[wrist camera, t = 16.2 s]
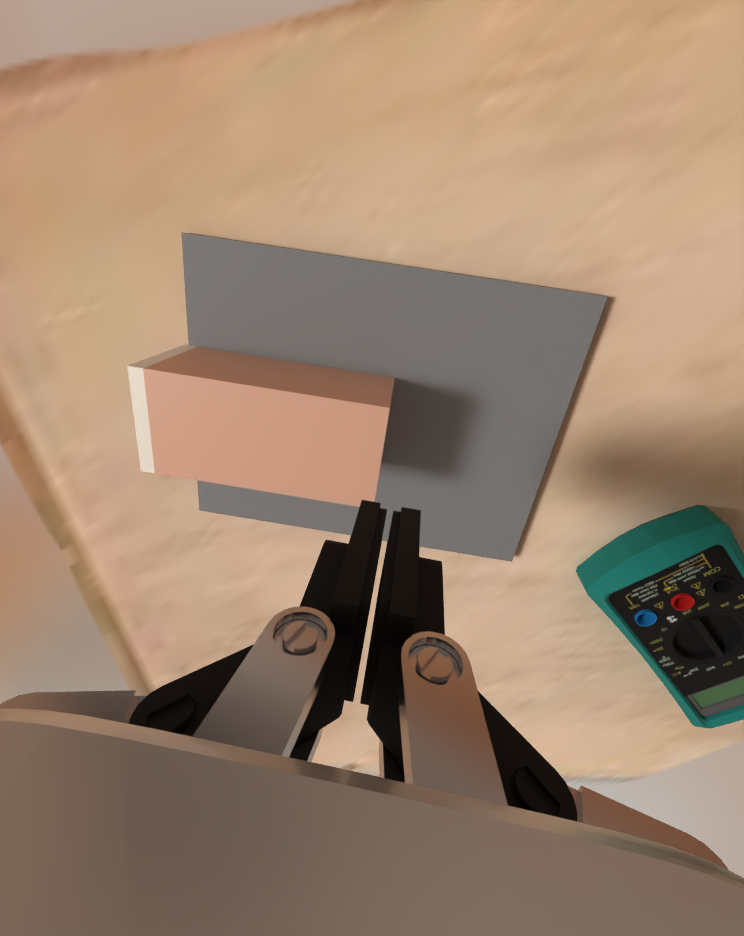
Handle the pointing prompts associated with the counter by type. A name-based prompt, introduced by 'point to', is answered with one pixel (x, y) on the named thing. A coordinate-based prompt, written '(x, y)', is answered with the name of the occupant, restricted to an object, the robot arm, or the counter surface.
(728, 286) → the counter surface
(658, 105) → the counter surface
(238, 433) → the block
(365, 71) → the counter surface
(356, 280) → the mat
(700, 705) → the digital multimeter
